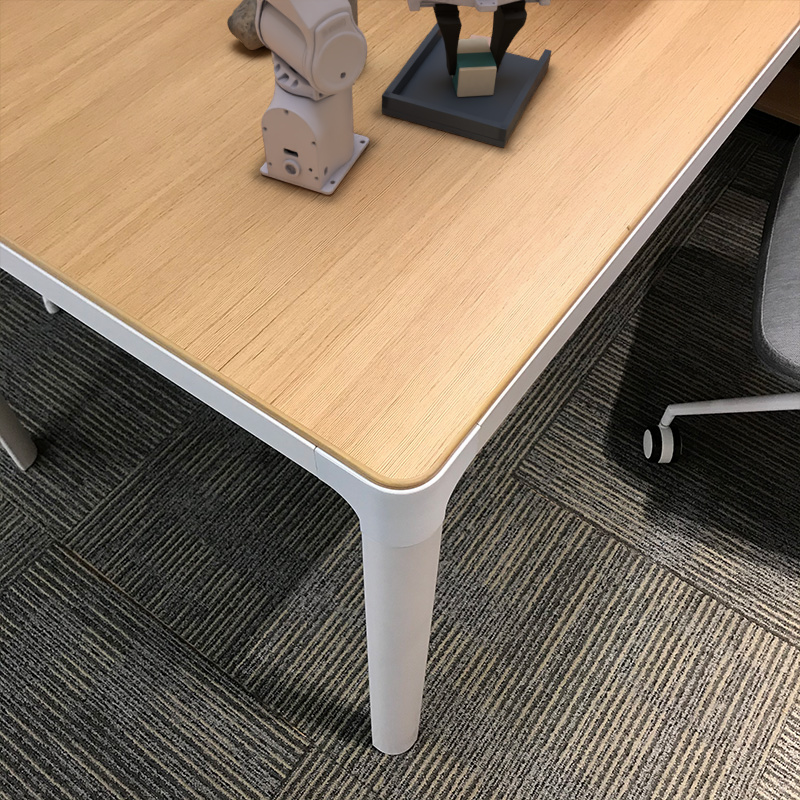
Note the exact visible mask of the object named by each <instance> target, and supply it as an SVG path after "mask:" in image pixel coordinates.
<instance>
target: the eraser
mask: <svg viewBox="0 0 800 800" xmlns="http://www.w3.org/2000/svg"><path fill="white" fill-rule="evenodd" d="M496 67H497V66H496V63H495V60H494V58H493V55H492V52H491V50H490V47H489V45H488V42H487V39H486V38H474V39H470V38H459V42H458V48H457V66H456V73H455V75H454V76H452V81H453V84H454V88H455V92H456V95H457V97H468V96H487V95H493V93H494V85H495V78H496V71H497V68H496Z"/></svg>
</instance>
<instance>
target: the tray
mask: <svg viewBox="0 0 800 800" xmlns="http://www.w3.org/2000/svg"><path fill="white" fill-rule="evenodd" d="M551 56H552V50H551V49H548V48H544V50H543V51H542V53H541V55H540V57H539V59H535V58H531V57H528V56H523V55H521V54H520V55H519V54H515V53H511V52H508V51H506V53H505V55H504V57H503V59H502V61H501V65H500V67H499V70H498V73H496V78H495V85H494V93H493V95H487V96H468V97H457V95H456V92H455V88H454V84H453V81H452V76H450V75H449V73H448V69H447V65H446V51H445V44H444V40H443V36H442V33H441V31H440V28H439V26H438V23H437V22H436V23H435V24H434V26H433V27H432V28H431V30H430V31H429V32H428V33H427V35H426V36H425V37H424V39H423V40H422V41H421V43H420V44H419V45H418V47H417V48H416V50H414V52H413V53H412V54H411V56H410V57H409V58H408V59H407V61H406V63H405V64H404V65H403V66H402V68H401V69H400V71H399V72H398V73H397V75H396V76H395V77H394V78H393V80H391V82H390V83H389V85H388V86H387V88H386V89H385V90H384V92H383V93H382V94H381V114H382V115H386V116H389V117H393V118H395V119H396V118H397V119H400V120H403V121H407V122H410V123H413V124H417V125H421V126H425V127H427V128H432V129H435V130H438V131H442V132H445V133H449V134H452V135H456V136H460V137H463V138H467V139H471V140H474V141H478V142H480V143H485V144H488V145H491V146H494V147H495V146H496V147H498V148H502V149H504V148H505V147H506V145H507V143H508V141H509V140H510V138H511V136H512V134H513V132H514V131H515V129H516V127H517V125H518V123H519V122H520V119H521V118H522V116H523V115H524V113H525V111H526V110H527V108H528V106H529V104H530V102H531V100H532V98H533V97H534V95H535V93H536V91H537V90H538V87H539V86H540V84H541V82H542V81H543V79H544V77H545V76H546V73H547V72H548V70H549V67H550V61H551Z"/></svg>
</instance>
